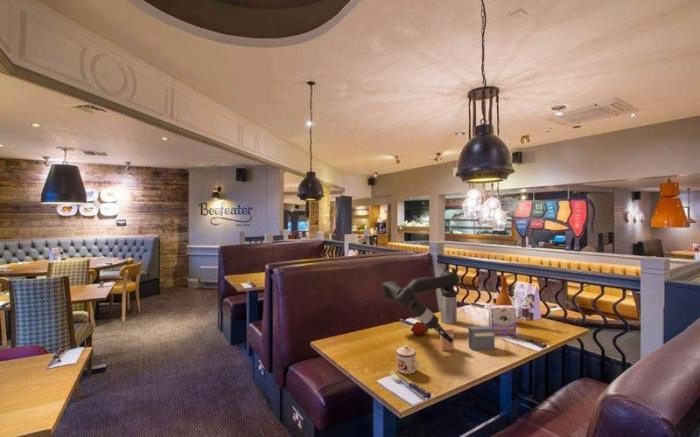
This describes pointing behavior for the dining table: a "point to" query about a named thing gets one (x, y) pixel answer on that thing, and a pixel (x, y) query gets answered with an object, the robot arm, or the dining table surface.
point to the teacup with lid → (406, 360)
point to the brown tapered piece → (503, 294)
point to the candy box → (503, 319)
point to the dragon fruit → (419, 328)
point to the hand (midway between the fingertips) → (450, 339)
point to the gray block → (481, 337)
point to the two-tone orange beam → (444, 342)
